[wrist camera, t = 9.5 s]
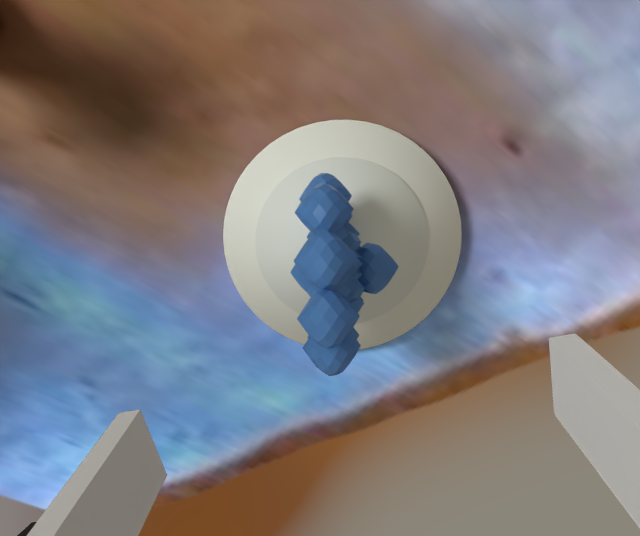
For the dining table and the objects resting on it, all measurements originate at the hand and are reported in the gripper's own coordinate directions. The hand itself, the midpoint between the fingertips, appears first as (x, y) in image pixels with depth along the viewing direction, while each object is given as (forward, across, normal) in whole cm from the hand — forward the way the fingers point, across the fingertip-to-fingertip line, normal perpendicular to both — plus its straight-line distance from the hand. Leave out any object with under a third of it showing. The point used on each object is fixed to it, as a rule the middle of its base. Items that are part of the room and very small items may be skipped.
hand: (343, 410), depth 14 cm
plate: (+21, 0, 0) cm, 21 cm away
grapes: (+20, 0, 0) cm, 20 cm away
